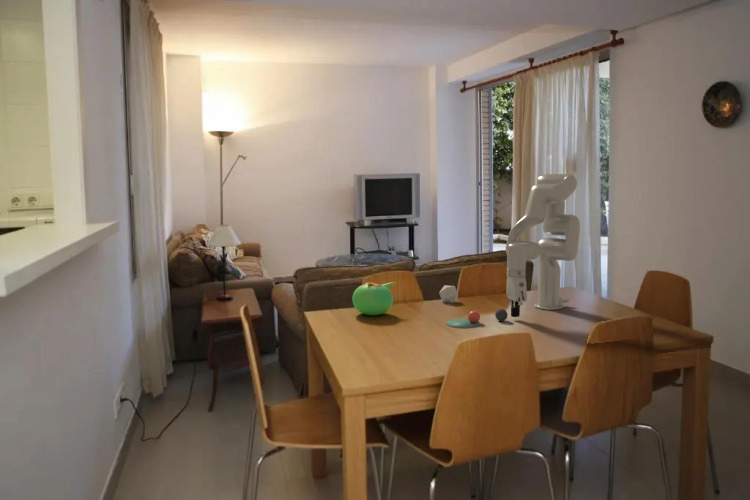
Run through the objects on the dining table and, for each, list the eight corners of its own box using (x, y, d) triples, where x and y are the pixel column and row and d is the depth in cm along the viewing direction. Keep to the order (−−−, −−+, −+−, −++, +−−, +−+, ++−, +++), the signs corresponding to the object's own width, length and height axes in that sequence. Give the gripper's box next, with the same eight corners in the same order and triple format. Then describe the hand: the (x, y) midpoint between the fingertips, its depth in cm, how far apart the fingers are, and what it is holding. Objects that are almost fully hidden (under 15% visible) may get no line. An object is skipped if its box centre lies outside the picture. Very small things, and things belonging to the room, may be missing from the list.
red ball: (467, 308, 234) (464, 320, 235) (471, 311, 230) (469, 323, 230) (478, 310, 236) (475, 322, 236) (483, 313, 231) (480, 325, 231)
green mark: (472, 318, 240) (472, 317, 240) (486, 326, 227) (486, 326, 227) (441, 320, 237) (441, 320, 237) (453, 329, 224) (453, 328, 224)
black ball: (492, 309, 237) (494, 321, 238) (497, 312, 232) (499, 324, 233) (502, 306, 238) (505, 317, 239) (508, 308, 233) (510, 320, 234)
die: (460, 302, 273) (452, 284, 277) (461, 297, 266) (452, 279, 269) (444, 308, 273) (436, 291, 277) (445, 303, 265) (436, 285, 269)
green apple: (346, 316, 246) (345, 283, 244) (364, 308, 261) (364, 276, 259) (383, 321, 238) (382, 286, 236) (400, 312, 253) (400, 279, 251)
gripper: (533, 275, 228) (532, 320, 231) (516, 269, 243) (515, 311, 245) (516, 276, 226) (515, 321, 229) (499, 270, 241) (499, 312, 243)
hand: (515, 316), depth 237 cm, fingers closed
